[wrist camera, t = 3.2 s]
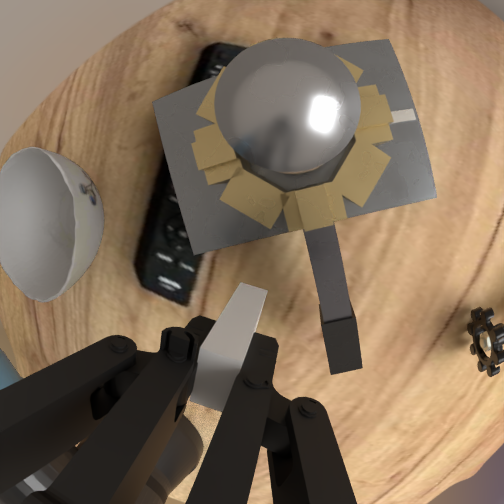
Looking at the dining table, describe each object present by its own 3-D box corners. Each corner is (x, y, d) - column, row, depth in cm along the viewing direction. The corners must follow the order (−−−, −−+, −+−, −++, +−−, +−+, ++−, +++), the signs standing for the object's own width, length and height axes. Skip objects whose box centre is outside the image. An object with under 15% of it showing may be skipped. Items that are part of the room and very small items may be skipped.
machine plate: (206, 245, 25) (119, 311, 12) (168, 109, 22) (61, 67, 10) (421, 194, 21) (525, 218, 8) (379, 53, 18) (435, -37, 6)
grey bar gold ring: (272, 360, 23) (266, 391, 19) (195, 89, 19) (172, 72, 15) (409, 330, 20) (426, 358, 16) (347, 48, 16) (356, 23, 12)
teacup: (97, 122, 24) (37, 113, 16) (157, 235, 25) (103, 259, 18) (21, 208, 27) (-30, 220, 20) (67, 301, 29) (19, 330, 21)
